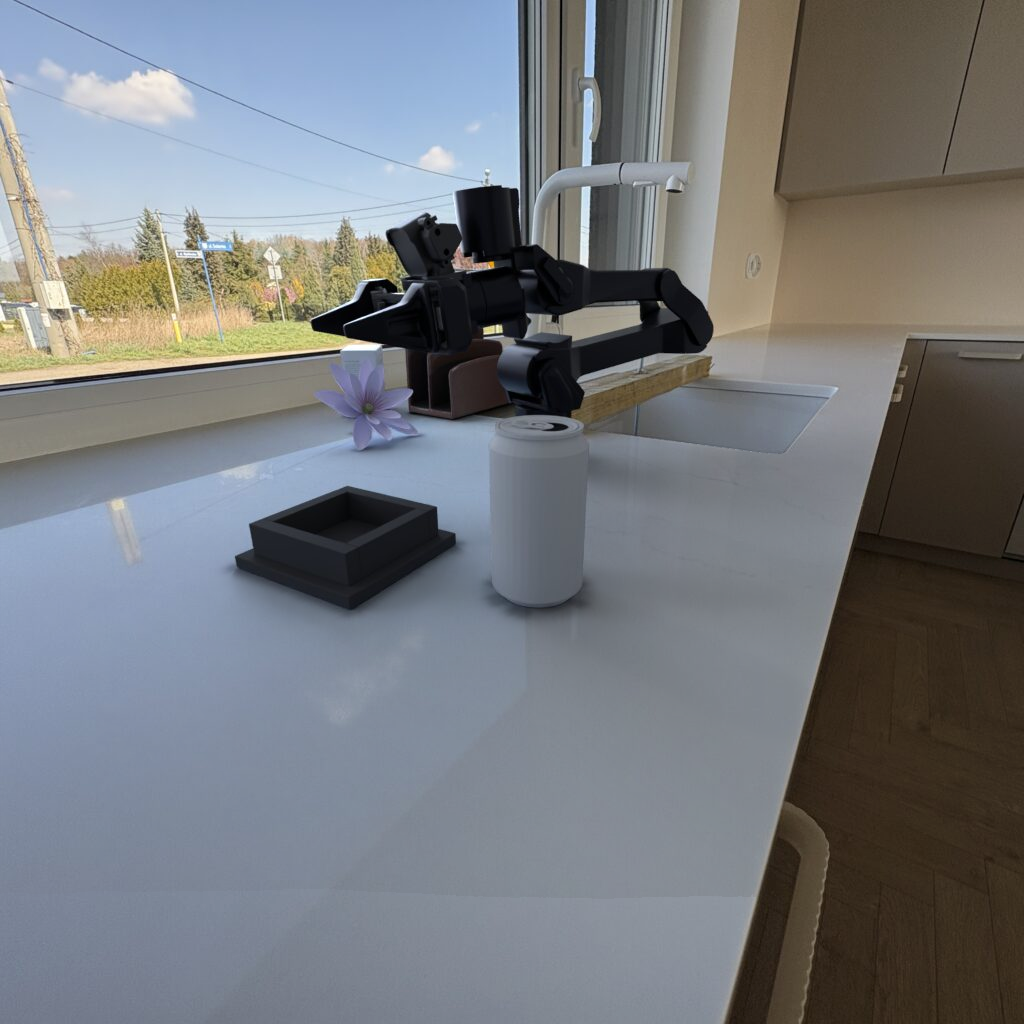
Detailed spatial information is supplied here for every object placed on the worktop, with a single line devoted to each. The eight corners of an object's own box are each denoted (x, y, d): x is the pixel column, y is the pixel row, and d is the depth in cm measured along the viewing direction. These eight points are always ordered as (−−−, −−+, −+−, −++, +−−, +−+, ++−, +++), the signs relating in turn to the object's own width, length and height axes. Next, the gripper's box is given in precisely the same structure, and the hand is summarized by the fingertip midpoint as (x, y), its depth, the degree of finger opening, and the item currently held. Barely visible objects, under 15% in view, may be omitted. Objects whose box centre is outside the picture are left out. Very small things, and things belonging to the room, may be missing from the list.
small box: (354, 407, 99) (348, 344, 95) (387, 406, 99) (382, 344, 95) (346, 417, 91) (338, 349, 87) (381, 416, 92) (375, 349, 88)
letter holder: (407, 412, 95) (401, 324, 89) (481, 395, 110) (479, 318, 104) (453, 420, 89) (449, 326, 84) (523, 400, 104) (524, 320, 99)
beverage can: (577, 618, 37) (586, 438, 32) (481, 608, 38) (477, 432, 33) (585, 572, 42) (594, 414, 38) (501, 564, 44) (500, 410, 39)
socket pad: (351, 515, 53) (347, 480, 52) (456, 543, 47) (454, 504, 46) (236, 567, 43) (227, 525, 42) (350, 610, 38) (344, 563, 36)
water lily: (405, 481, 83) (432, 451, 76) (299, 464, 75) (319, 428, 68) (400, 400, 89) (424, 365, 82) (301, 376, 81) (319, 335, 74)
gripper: (417, 222, 63) (274, 237, 55) (514, 205, 49) (340, 221, 41) (433, 326, 68) (305, 352, 60) (526, 338, 54) (373, 374, 46)
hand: (327, 328), depth 52 cm, fingers open, 9 cm apart
